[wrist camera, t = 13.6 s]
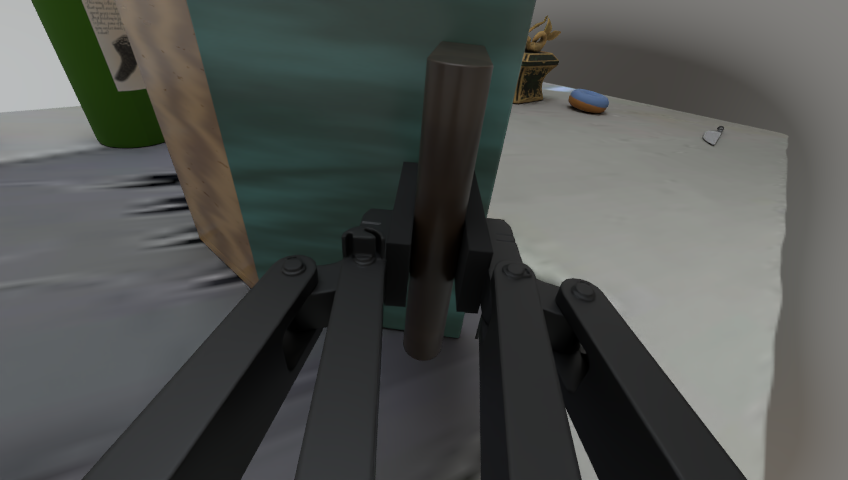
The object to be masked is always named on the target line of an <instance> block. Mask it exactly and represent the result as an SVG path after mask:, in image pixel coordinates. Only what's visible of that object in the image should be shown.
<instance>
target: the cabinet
mask: <svg viewBox="0 0 848 480" xmlns="http://www.w3.org/2000/svg"><path fill="white" fill-rule="evenodd" d="M115 3H116V6H117V9H118V12H119V14H120V17H121V20H122V23H123V25H124V28H125V31H126V34H127V37H128V39H129V42H130V45H131V48H132V51H133V53H134V56H135V59H136V62H137V64H138V67H139V70H140V73H141V76H142V78H143V81H144V84H145V87H146V89H147V92H148V95H149V98H150V101H151V103H152V106H153V109H154V112H155V115H156V117H157V120H158V123H159V126H160V128H161V131H162V134H163V137H164V140H165V142H166V145H167V148H168V151H169V153H170V156H171V159H172V162H173V165H174V167H175V170H176V173H177V176H178V179H179V181H180V184H181V187H182V190H183V192H184V195H185V198H186V201H187V204H188V206H189V209H190V212H191V215H192V217H193V220H194V223H195V226H196V229H197V231H198V234H199V237H200V239H201V240H202V241H203V242H204V243H205V244H206V245H207V246H208V247H209V248H210V249H211V250H212V251H213V252H214V253H215V254H216V255H217V256H218V257H219V258H220V259H221V260H222V261H223V262H224V263H225V264H226V265H227V266H228V267H230V268H231V269H232V270H233V271H234V272H235V273H236V274H237V275H238V276H239V277H240V278H241V279H242V280H243V281H244V282H245V283H246V284H247V285H248V286H249V287H250V288H251V289H252V287H253V286H254V285H255V284H256V283H257V282H258V281H259V279H258V275H257V271H256V268H255V264H254V260H253V256H252V252H251V248H250V244H249V241H248V237H247V233H246V229H245V225H244V221H243V218H242V214H241V210H240V206H239V202H238V198H237V194H236V191H235V187H234V183H233V179H232V175H231V171H230V167H229V164H228V160H227V156H226V152H225V148H224V144H223V140H222V137H221V133H220V129H219V125H218V121H217V117H216V113H215V110H214V106H213V102H212V98H211V94H210V90H209V87H208V83H207V79H206V75H205V71H204V67H203V63H202V60H201V56H200V52H199V48H198V44H197V40H196V36H195V33H194V29H193V25H192V21H191V17H190V13H189V9H188V6H187V2H186V0H115Z"/></svg>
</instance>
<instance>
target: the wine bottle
mask: <svg viewBox="0 0 848 480" xmlns="http://www.w3.org/2000/svg"><path fill="white" fill-rule="evenodd" d="M32 3H33V5H34V7H35V9H36V11H37V13H38V16H39V18H40V20H41V22H42V24H43V26H44V28H45V30H46V32H47V35H48V37H49V39H50V41H51V43H52V45H53V47H54V49H55V51H56V53H57V56H58V58H59V60H60V62H61V64H62V66H63V68H64V70H65V72H66V75H67V77H68V79H69V81H70V83H71V85H72V87H73V89H74V92H75V94H76V96H77V98H78V100H79V102H80V104H81V106H82V108H83V111H84V113H85V115H86V117H87V119H88V121H89V123H90V125H91V127H92V130H93V132H94V134H95V136H96V138H97V140H98V141H99V142H100V143H101V144H103V145H105V146H109V147H116V148H135V147H145V146H151V145H156V144H160V143H163V142H165V140H164V137H163V134H162V131H161V128H160V126H159V123H158V120H157V117H156V115H155V112H154V109H153V106H152V103H151V101H150V98H149V95H148V92H147V89H146V87H145V84H144V81H143V78H142V76H141V73H140V70H139V67H138V64H137V62H136V59H135V56H134V53H133V51H132V48H131V45H130V42H129V39H128V37H127V34H126V31H125V28H124V25H123V23H122V20H121V17H120V14H119V12H118V9H117V6H116V3H115V0H32Z"/></svg>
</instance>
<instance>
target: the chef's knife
mask: <svg viewBox="0 0 848 480" xmlns="http://www.w3.org/2000/svg"><path fill="white" fill-rule="evenodd" d="M717 129H718V131H706V132H705V133H704V135H703V138H704V139H705V140H706V141H707V142H709V143H711V144H713V145H715V143H716V142H717V140H718V138H719V137H720V135H721V133H722V131H723V130H724V127H723V126H719V127H718V128H717Z"/></svg>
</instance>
